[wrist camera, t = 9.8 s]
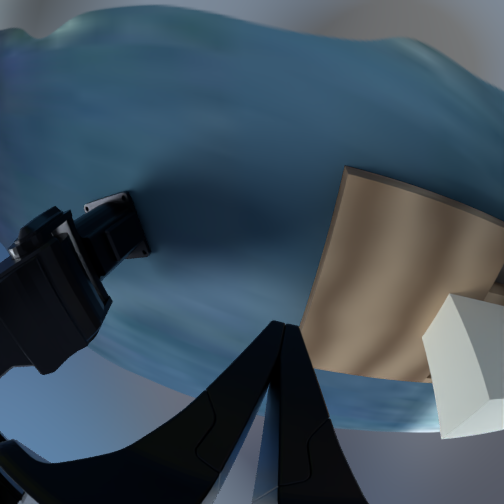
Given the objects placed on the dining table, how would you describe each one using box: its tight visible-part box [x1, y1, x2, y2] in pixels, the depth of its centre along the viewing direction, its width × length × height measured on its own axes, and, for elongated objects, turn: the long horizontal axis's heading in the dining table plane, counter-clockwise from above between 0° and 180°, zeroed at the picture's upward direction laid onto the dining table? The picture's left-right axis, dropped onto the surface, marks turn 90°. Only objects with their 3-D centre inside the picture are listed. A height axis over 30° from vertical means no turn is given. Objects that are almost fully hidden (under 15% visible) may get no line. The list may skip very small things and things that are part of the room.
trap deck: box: [299, 166, 504, 383], centre depth 18 cm, size 26×18×6 cm
